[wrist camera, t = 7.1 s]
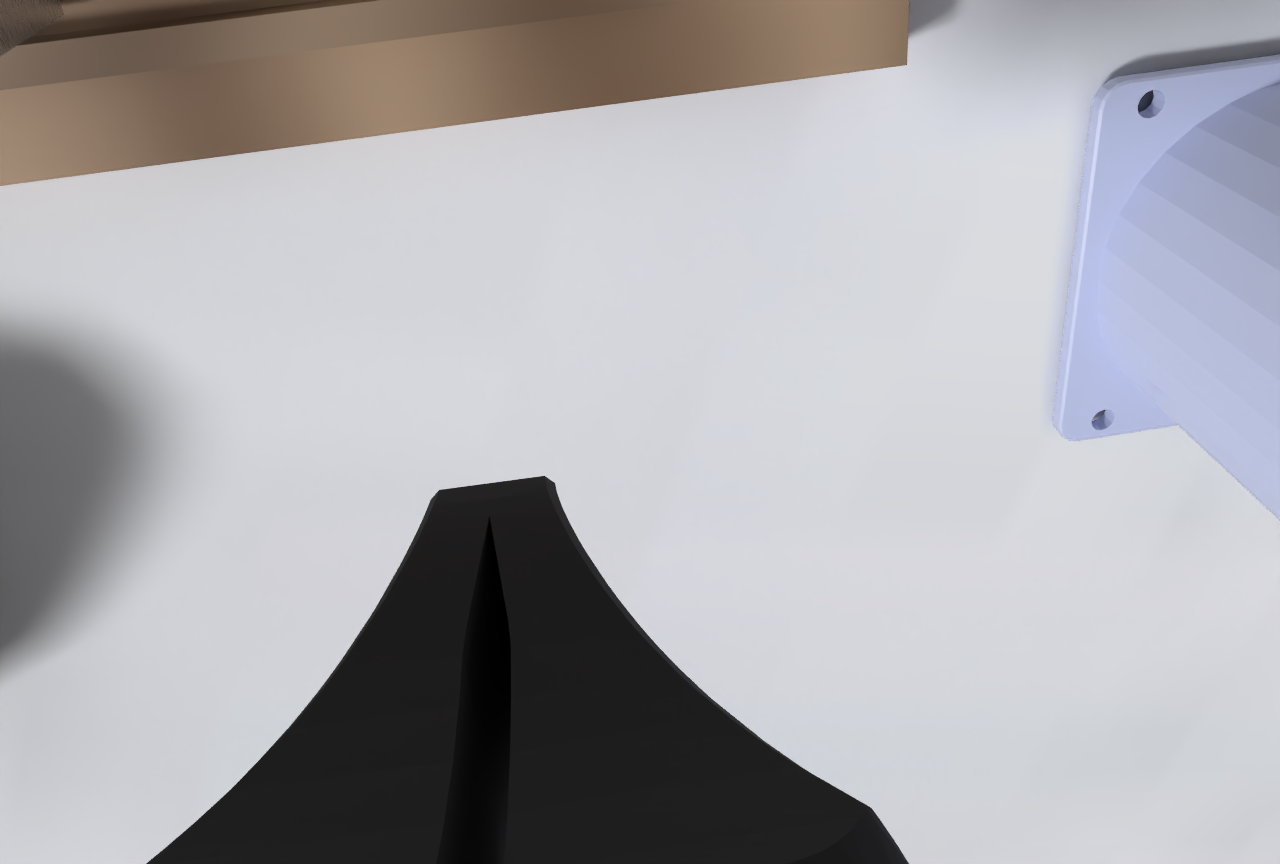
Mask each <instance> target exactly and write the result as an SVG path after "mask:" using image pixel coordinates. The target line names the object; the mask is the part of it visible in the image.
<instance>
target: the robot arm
mask: <svg viewBox="0 0 1280 864" xmlns="http://www.w3.org/2000/svg"><path fill="white" fill-rule="evenodd" d="M1152 90H1153V94H1154V98H1153V100H1152V103H1151V105H1150V106H1149V107H1148V108H1147V109H1146V110H1144V111H1141V112H1139V113H1138V104H1139V101H1140V99H1141V98H1142V97H1143V96H1144V95H1145V94H1146V93H1147V92H1149V91H1152ZM1102 410H1105V412H1104V415H1102V416H1101V417H1100V418H1099V419H1097V420H1094V421H1092V419H1093V417H1094V416H1095V415H1096V414H1097V413H1098V412H1100V411H1102ZM1176 425H1178V426H1179V427H1180V428H1181V429H1182V430H1183V431H1184V432H1185V433H1187V434H1188V435H1189V436H1190V437H1191V438H1192V439H1193V440H1194V441H1195V442H1196V443H1197V444H1198V445H1199V446H1200V447H1202V448H1203V449H1204V450H1205V451H1206V452H1207V453H1208V454H1209V455H1210V456H1211V457H1212V458H1213V459H1214V460H1215V461H1216V462H1218V463H1219V464H1220V465H1221V466H1222V467H1223V468H1224V469H1225V470H1226V471H1227V472H1228V473H1229V474H1230V475H1231V476H1233V477H1234V478H1235V479H1236V480H1237V481H1238V482H1239V483H1240V484H1241V485H1242V486H1243V487H1244V488H1245V489H1246V490H1247V491H1249V492H1250V493H1251V494H1252V495H1253V496H1254V497H1255V498H1256V499H1257V500H1258V501H1259V502H1260V503H1261V504H1262V505H1264V506H1265V507H1266V508H1267V509H1268V510H1269V511H1270V512H1271V513H1272V514H1273V515H1274V516H1275V517H1276V518H1277V519H1278V520H1280V55H1272V56H1265V57H1258V58H1250V59H1243V60H1236V61H1228V62H1221V63H1214V64H1206V65H1199V66H1191V67H1184V68H1177V69H1169V70H1162V71H1155V72H1147V73H1140V74H1133V75H1125V76H1119V77H1116V78H1113V79H1110V80H1109V81H1108V82H1106V83H1105V84H1104V85H1102V86H1101V87H1100V89H1099V90H1098V92H1097V93H1096V95H1095V96H1094V99H1093V103H1092V106H1091V113H1090V121H1089V129H1088V137H1087V145H1086V154H1085V162H1084V170H1083V178H1082V186H1081V194H1080V202H1079V210H1078V218H1077V226H1076V234H1075V242H1074V250H1073V258H1072V267H1071V275H1070V283H1069V291H1068V299H1067V307H1066V315H1065V323H1064V331H1063V339H1062V347H1061V355H1060V363H1059V372H1058V380H1057V388H1056V396H1055V404H1054V412H1053V426H1054V427H1055V429H1056V430H1057V431H1058V432H1059V434H1060V435H1061V436H1062V437H1063V438H1065V439H1067V440H1069V441H1081V440H1087V439H1094V438H1100V437H1106V436H1113V435H1119V434H1125V433H1132V432H1138V431H1144V430H1151V429H1157V428H1163V427H1170V426H1176ZM147 864H909V863H908V862H907V860H906V858H905V857H904V855H903V854H902V852H901V850H900V849H899V847H898V846H897V844H896V843H895V841H894V840H893V838H892V837H891V835H890V834H889V832H888V831H887V829H886V828H885V826H884V825H883V824H882V822H881V821H880V819H879V818H878V816H877V815H876V814H875V812H874V811H873V810H872V808H870V807H869V806H867V805H865V804H864V803H862V802H860V801H858V800H857V799H855V798H853V797H851V796H850V795H848V794H846V793H844V792H843V791H841V790H839V789H837V788H836V787H834V786H832V785H830V784H829V783H827V782H825V781H824V780H822V779H820V778H818V777H817V776H815V775H813V774H811V773H810V772H808V771H807V770H805V769H803V768H802V767H801V766H799V765H798V764H796V763H795V762H793V761H792V760H790V759H789V758H788V757H786V756H785V755H783V754H782V753H780V752H779V751H777V750H776V749H775V748H773V747H772V746H770V745H769V744H767V743H766V742H765V741H763V740H762V739H761V738H760V737H758V736H757V735H756V734H755V733H753V732H752V731H751V730H750V729H748V728H747V727H746V726H745V725H743V724H742V723H741V722H740V721H738V720H737V719H736V718H735V717H733V716H732V715H731V714H730V713H728V712H727V711H726V710H725V709H723V708H722V707H721V706H720V705H718V704H717V703H716V702H715V701H714V700H712V699H711V698H710V697H709V696H708V695H707V694H706V693H704V692H703V691H702V690H701V689H700V688H699V687H698V686H697V685H696V684H695V683H694V682H693V681H692V680H691V679H690V678H689V677H687V676H686V675H685V674H684V673H683V672H682V671H681V670H680V669H679V668H678V667H677V666H676V665H675V664H674V663H673V662H672V661H671V660H670V659H669V658H668V657H667V655H666V654H665V653H664V652H663V651H662V650H661V649H660V648H659V647H658V646H657V645H656V644H655V643H654V642H653V640H652V639H651V638H650V637H649V636H648V635H647V634H646V632H645V631H644V630H643V629H642V628H641V627H640V625H639V624H638V623H637V622H636V621H635V619H634V618H633V617H632V616H631V614H630V613H629V612H628V611H627V609H626V608H625V607H624V606H623V604H622V603H621V602H620V601H619V599H618V598H617V597H616V595H615V594H614V592H613V591H612V590H611V588H610V587H609V586H608V584H607V583H606V581H605V580H604V578H603V577H602V575H601V574H600V572H599V571H598V569H597V568H596V566H595V565H594V563H593V562H592V560H591V559H590V557H589V556H588V554H587V553H586V551H585V550H584V548H583V546H582V545H581V543H580V541H579V539H578V538H577V536H576V534H575V532H574V530H573V528H572V526H571V525H570V523H569V521H568V519H567V517H566V514H565V512H564V510H563V508H562V505H561V503H560V500H559V497H558V494H557V491H556V486H555V483H554V482H552V481H551V480H550V479H548V478H547V477H545V476H541V477H533V478H526V479H518V480H511V481H503V482H496V483H488V484H481V485H473V486H466V487H458V488H451V489H443V490H439V491H438V492H437V493H436V494H435V496H434V497H433V498H432V499H431V501H430V503H429V506H428V508H427V511H426V513H425V515H424V518H423V520H422V522H421V524H420V527H419V529H418V531H417V533H416V535H415V537H414V539H413V541H412V543H411V545H410V547H409V549H408V551H407V553H406V555H405V557H404V559H403V561H402V563H401V565H400V566H399V568H398V570H397V572H396V573H395V575H394V577H393V579H392V580H391V582H390V584H389V586H388V587H387V589H386V591H385V593H384V595H383V596H382V598H381V600H380V602H379V603H378V605H377V607H376V608H375V610H374V612H373V613H372V615H371V616H370V618H369V619H368V621H367V622H366V624H365V625H364V627H363V628H362V630H361V631H360V633H359V635H358V636H357V638H356V639H355V641H354V642H353V644H352V645H351V647H350V648H349V650H348V651H347V653H346V654H345V656H344V657H343V659H342V660H341V662H340V663H339V664H338V666H337V667H336V668H335V670H334V671H333V673H332V674H331V675H330V677H329V678H328V679H327V681H326V682H325V683H324V685H323V686H322V687H321V689H320V690H319V691H318V693H317V694H316V695H315V696H314V698H313V699H312V700H311V701H310V703H309V704H308V705H307V706H306V707H305V709H304V710H303V711H302V712H301V714H300V715H299V716H298V717H297V719H296V720H295V721H294V722H293V723H292V724H291V726H290V727H289V728H288V729H287V730H286V731H285V732H284V734H283V735H282V736H281V737H280V738H279V739H278V740H277V741H276V742H275V743H274V745H273V746H272V747H271V748H270V749H269V750H268V751H267V752H266V753H265V754H264V756H263V757H262V758H261V759H260V760H259V761H258V762H257V763H256V764H255V765H254V766H253V767H252V768H251V769H250V770H249V771H248V772H247V773H246V775H245V776H244V777H243V778H242V779H241V780H240V781H239V782H238V783H237V784H236V785H235V786H234V787H233V788H232V789H231V790H230V791H229V792H228V793H227V794H226V795H224V796H223V797H222V798H221V799H220V800H219V801H218V802H217V803H216V804H215V805H214V806H213V807H211V808H210V809H209V810H208V811H207V812H206V813H205V814H204V815H203V816H202V817H201V818H199V819H198V820H197V821H196V822H195V823H194V824H193V825H191V826H190V827H189V828H188V829H187V830H186V831H185V832H183V833H182V834H181V835H180V836H179V837H178V838H176V839H175V840H174V841H173V842H172V843H171V844H169V845H168V846H167V847H166V848H165V849H164V850H162V851H161V852H160V853H159V854H158V855H156V856H155V857H154V858H153V859H151V860H150V861H149V862H148V863H147Z"/></svg>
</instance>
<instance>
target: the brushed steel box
mask: <svg viewBox="0 0 1280 864" xmlns="http://www.w3.org/2000/svg"><path fill="white" fill-rule="evenodd" d="M63 15H64V12H63V9H62V7H61V4H60V1H59V0H0V56H2V55H3V54H5V53H6V52H8V51H9V50H11V49H12V48H14V47H16V46H17V45H19V44H20V43H22V42H23V41H25V40H26V39H28V38H29V37H31V36H33V35H34V34H36V33H37V32H39V31H40V30H42V29H43V28H45V27H46V26H48V25H50V24H51V23H53V22H54V21H56V20H57V19H59V18H60V17H62V16H63Z"/></svg>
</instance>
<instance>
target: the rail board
mask: <svg viewBox="0 0 1280 864" xmlns="http://www.w3.org/2000/svg"><path fill="white" fill-rule="evenodd" d="M59 1H60V4H61V7H62V9H63V12H64V15H63V16H62V17H60V18H59V19H57V20H56V21H54V22H53V23H51V24H50V25H48V26H46V27H45V28H43V29H42V30H40V31H39V32H37V33H36V34H34V35H33V36H31V37H29V38H28V39H26V40H25V41H23V42H22V43H20V44H19V45H17V46H16V47H14V48H12V49H11V50H9V51H8V52H6V53H5V54H3V55H2V56H0V186H3V185H10V184H18V183H25V182H33V181H40V180H48V179H55V178H63V177H70V176H78V175H85V174H93V173H100V172H108V171H115V170H123V169H130V168H138V167H145V166H153V165H160V164H168V163H175V162H183V161H190V160H198V159H205V158H213V157H220V156H228V155H235V154H243V153H250V152H258V151H265V150H273V149H280V148H288V147H295V146H303V145H310V144H318V143H325V142H333V141H340V140H348V139H355V138H363V137H370V136H378V135H385V134H393V133H400V132H408V131H415V130H423V129H430V128H438V127H445V126H453V125H460V124H468V123H475V122H483V121H490V120H498V119H505V118H513V117H520V116H528V115H535V114H543V113H550V112H558V111H565V110H573V109H580V108H588V107H595V106H603V105H610V104H618V103H625V102H633V101H640V100H648V99H655V98H663V97H670V96H678V95H685V94H693V93H700V92H708V91H715V90H723V89H730V88H738V87H745V86H753V85H760V84H767V83H775V82H782V81H790V80H797V79H805V78H812V77H820V76H827V75H835V74H842V73H850V72H857V71H865V70H872V69H880V68H887V67H895V66H902V65H907V49H908V19H909V0H59Z"/></svg>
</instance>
